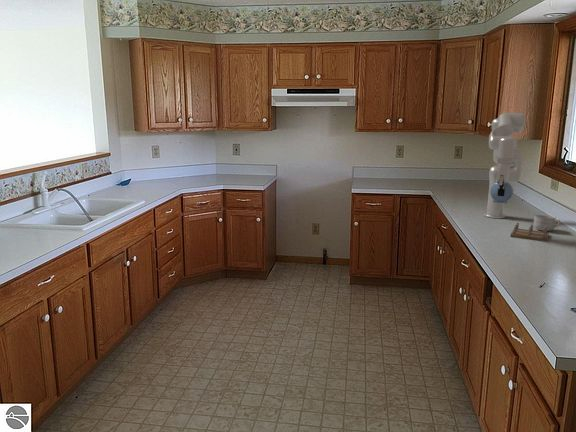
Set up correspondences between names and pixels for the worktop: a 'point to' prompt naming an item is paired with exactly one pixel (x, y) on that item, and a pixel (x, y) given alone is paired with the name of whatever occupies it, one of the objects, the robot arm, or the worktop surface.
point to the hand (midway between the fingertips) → (501, 195)
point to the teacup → (545, 222)
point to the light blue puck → (507, 193)
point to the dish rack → (530, 233)
